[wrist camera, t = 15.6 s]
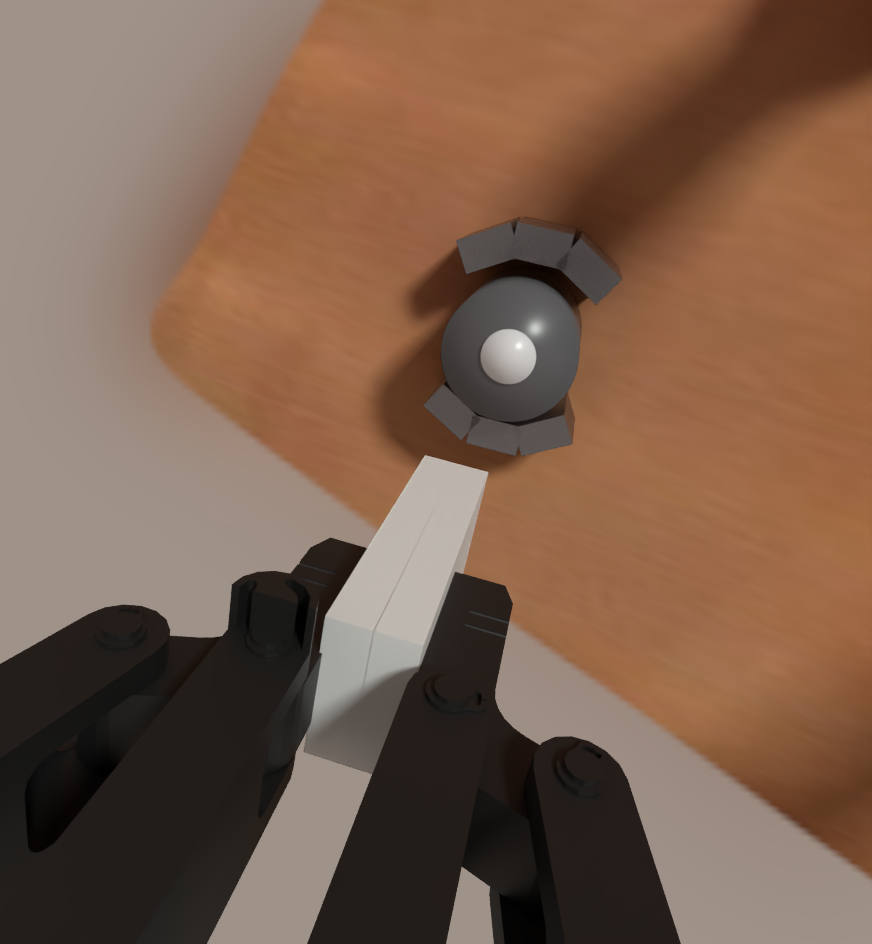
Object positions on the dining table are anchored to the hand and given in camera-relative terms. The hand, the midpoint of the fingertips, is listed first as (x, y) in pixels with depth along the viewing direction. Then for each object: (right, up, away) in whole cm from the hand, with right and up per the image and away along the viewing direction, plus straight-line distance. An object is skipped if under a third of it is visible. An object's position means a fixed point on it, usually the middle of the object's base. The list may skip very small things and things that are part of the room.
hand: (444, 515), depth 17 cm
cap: (+4, +8, +20) cm, 22 cm away
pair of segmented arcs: (+4, +8, +20) cm, 22 cm away
